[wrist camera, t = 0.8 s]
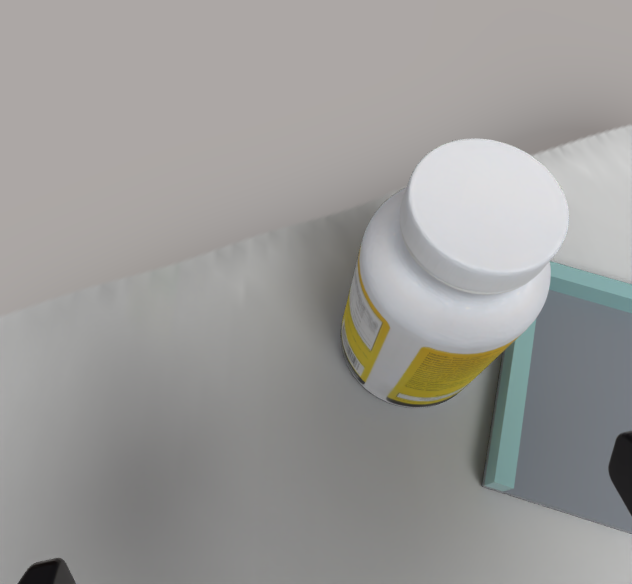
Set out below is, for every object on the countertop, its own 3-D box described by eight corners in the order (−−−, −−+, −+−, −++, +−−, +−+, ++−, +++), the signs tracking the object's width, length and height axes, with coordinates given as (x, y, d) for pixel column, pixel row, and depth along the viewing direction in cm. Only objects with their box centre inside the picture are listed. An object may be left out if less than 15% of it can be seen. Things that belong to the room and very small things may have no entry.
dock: (743, 569, 23) (772, 570, 21) (481, 486, 24) (494, 482, 22) (733, 332, 27) (757, 320, 26) (516, 269, 28) (528, 254, 27)
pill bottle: (502, 360, 26) (652, 229, 16) (396, 440, 24) (486, 352, 14) (414, 260, 28) (494, 84, 18) (310, 326, 26) (332, 173, 16)
